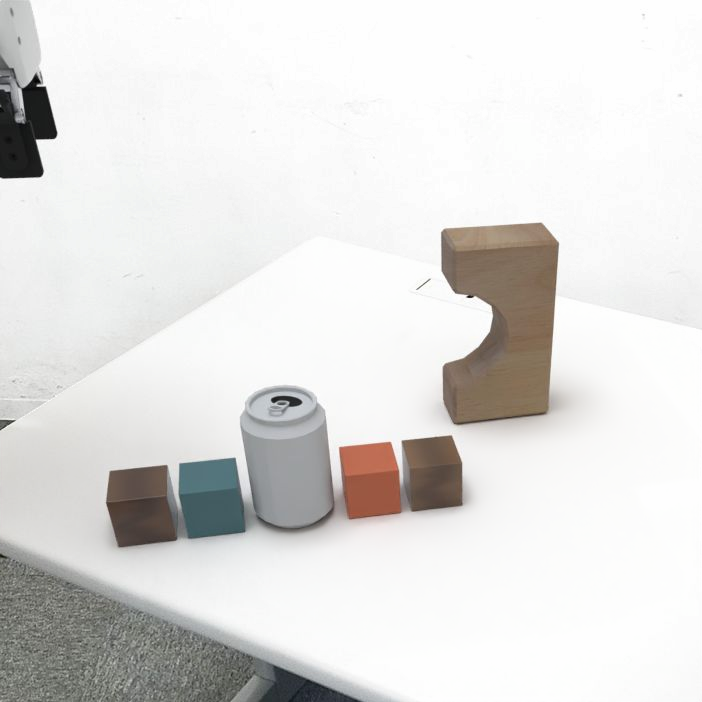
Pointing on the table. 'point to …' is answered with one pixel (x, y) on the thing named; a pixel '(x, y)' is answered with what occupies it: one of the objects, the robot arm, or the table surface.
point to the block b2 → (211, 497)
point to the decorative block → (503, 319)
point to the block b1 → (142, 505)
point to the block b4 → (432, 472)
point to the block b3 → (370, 479)
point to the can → (287, 456)
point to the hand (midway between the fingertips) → (30, 156)
